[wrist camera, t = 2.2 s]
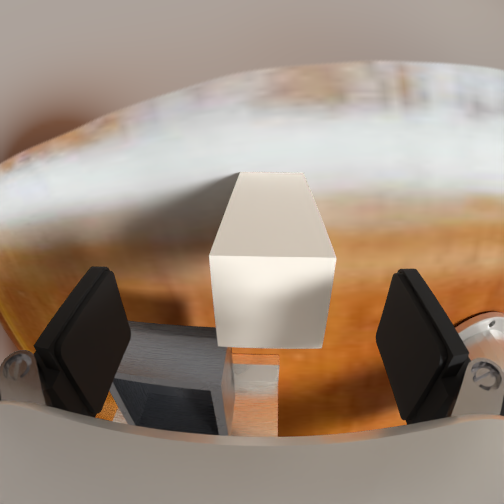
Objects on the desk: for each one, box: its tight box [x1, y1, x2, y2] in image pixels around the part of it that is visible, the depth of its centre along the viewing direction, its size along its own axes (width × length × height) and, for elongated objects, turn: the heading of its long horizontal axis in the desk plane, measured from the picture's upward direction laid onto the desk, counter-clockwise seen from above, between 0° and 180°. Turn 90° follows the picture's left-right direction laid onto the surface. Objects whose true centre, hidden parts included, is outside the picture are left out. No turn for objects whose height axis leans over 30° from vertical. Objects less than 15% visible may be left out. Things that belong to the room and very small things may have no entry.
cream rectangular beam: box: [209, 172, 336, 349], centre depth 16 cm, size 4×4×11 cm
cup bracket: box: [109, 321, 279, 437], centre depth 20 cm, size 14×14×16 cm
